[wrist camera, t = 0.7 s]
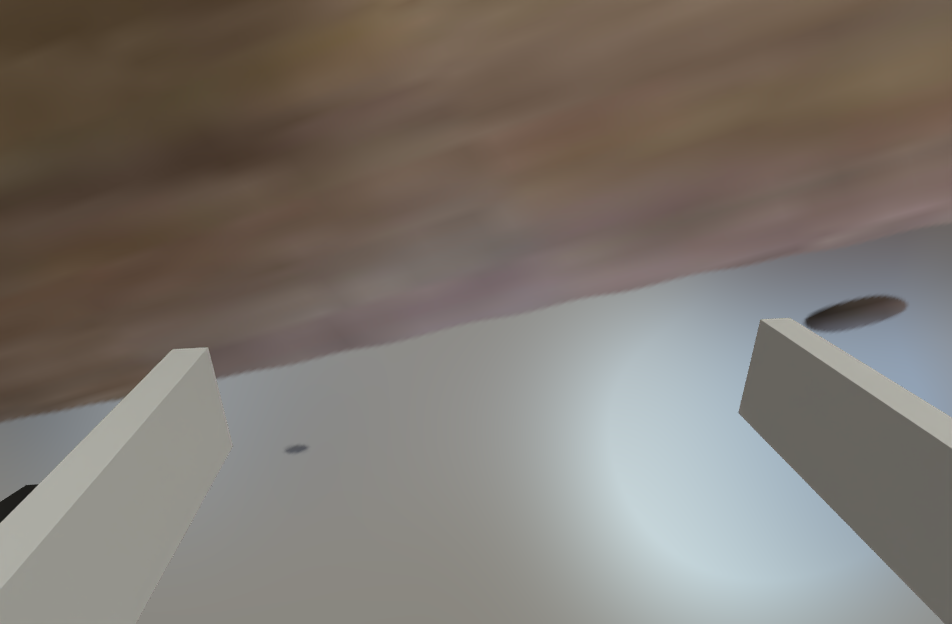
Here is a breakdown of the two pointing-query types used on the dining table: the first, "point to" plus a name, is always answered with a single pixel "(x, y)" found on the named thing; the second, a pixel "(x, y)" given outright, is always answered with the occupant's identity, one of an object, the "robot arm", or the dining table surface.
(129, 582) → the robot arm
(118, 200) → the dining table surface
